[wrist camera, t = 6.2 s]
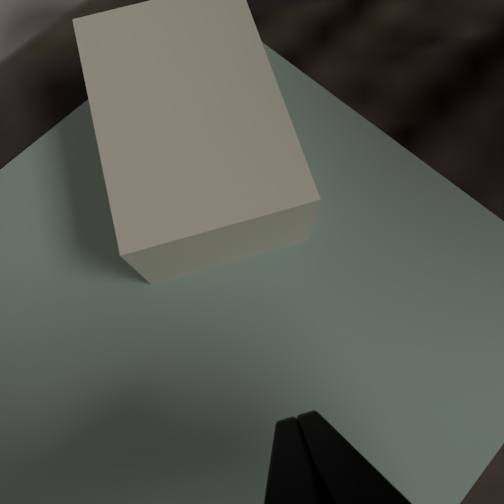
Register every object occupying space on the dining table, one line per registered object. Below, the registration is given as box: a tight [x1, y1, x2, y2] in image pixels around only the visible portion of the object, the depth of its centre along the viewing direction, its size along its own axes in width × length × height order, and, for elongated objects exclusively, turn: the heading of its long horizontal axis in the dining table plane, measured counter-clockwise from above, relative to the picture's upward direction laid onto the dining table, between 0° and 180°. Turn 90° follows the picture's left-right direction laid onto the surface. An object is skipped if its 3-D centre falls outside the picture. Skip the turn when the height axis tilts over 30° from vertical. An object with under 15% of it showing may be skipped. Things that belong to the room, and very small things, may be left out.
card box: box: [72, 0, 321, 284], centre depth 15 cm, size 4×6×9 cm
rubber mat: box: [0, 43, 504, 504], centre depth 15 cm, size 20×22×1 cm
